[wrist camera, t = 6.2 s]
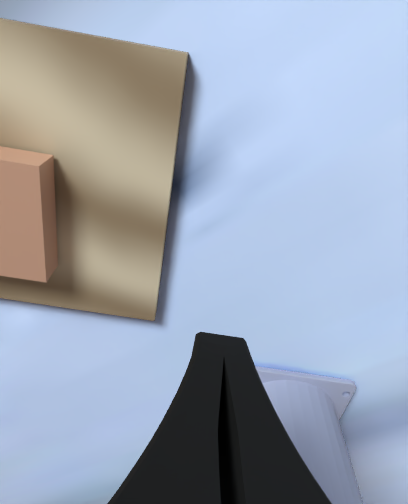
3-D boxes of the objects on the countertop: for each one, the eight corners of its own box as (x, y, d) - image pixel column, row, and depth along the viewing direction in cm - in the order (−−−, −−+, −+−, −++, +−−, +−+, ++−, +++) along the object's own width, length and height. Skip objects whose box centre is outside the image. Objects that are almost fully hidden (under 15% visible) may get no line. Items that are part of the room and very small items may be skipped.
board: (156, 312, 23) (154, 320, 22) (-65, 278, 22) (-74, 287, 22) (188, 52, 16) (187, 53, 15) (-135, -7, 15) (-152, -9, 14)
